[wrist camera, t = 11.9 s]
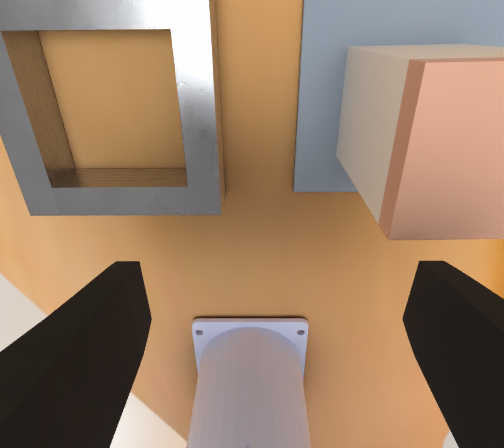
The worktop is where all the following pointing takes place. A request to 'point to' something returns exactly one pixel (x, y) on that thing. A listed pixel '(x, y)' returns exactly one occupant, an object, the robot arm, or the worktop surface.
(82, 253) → the worktop surface
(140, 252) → the worktop surface
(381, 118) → the beige pink box
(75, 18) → the frame
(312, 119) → the rubber mat
